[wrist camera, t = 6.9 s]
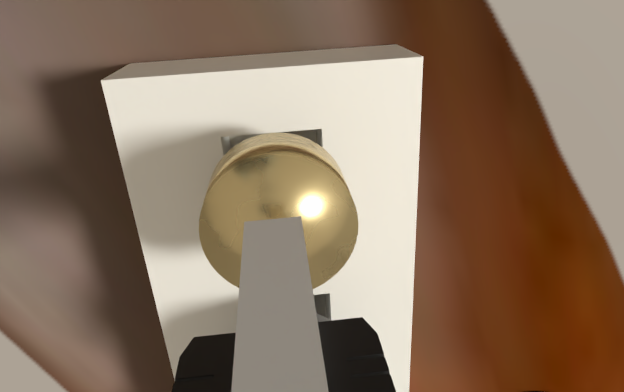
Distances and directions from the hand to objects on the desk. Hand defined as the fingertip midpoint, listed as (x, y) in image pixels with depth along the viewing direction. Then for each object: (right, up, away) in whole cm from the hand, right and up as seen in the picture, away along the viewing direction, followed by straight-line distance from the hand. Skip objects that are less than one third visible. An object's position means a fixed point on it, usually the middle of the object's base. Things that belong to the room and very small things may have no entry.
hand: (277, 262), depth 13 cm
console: (0, -3, +13) cm, 14 cm away
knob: (-1, +3, +9) cm, 9 cm away
